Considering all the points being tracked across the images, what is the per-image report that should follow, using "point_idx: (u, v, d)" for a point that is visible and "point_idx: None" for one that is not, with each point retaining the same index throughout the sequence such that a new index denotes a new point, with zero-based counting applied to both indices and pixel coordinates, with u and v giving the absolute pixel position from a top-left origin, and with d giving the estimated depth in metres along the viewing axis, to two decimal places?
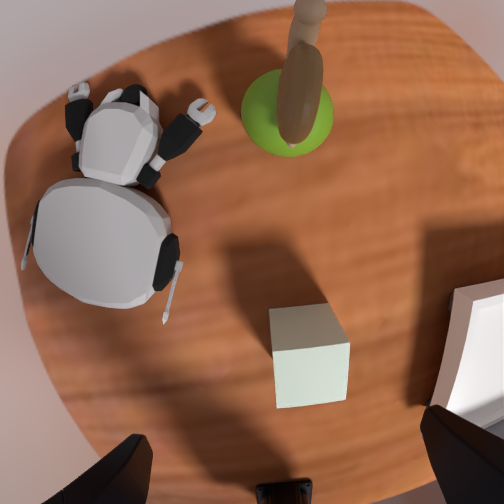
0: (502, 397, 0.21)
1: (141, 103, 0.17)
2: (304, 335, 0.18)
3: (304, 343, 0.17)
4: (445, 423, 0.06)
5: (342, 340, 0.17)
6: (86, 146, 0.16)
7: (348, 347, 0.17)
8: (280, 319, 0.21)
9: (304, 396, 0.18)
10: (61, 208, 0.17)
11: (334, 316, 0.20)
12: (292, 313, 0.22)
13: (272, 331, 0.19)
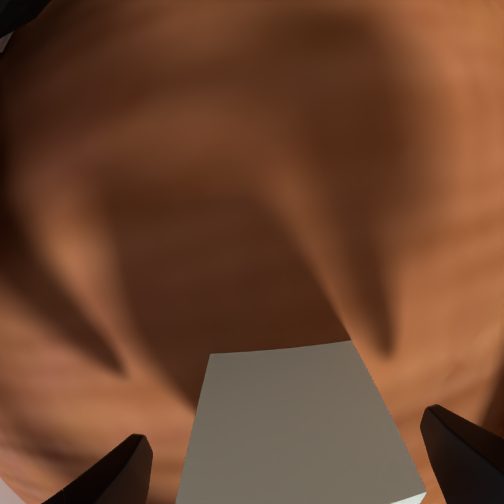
0: None
1: None
2: (283, 461, 0.05)
3: (280, 502, 0.04)
4: (445, 423, 0.06)
5: (403, 484, 0.04)
6: None
7: (418, 501, 0.04)
8: (229, 391, 0.07)
9: None
10: None
11: (371, 384, 0.07)
12: (262, 371, 0.08)
13: (195, 433, 0.06)
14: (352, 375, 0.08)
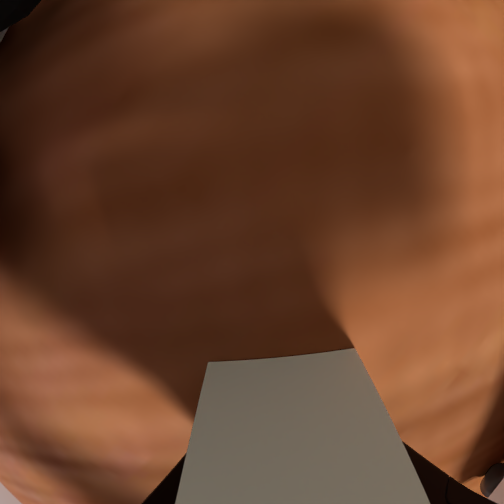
0: None
1: None
2: (284, 480, 0.05)
3: None
4: None
5: (409, 503, 0.03)
6: None
7: None
8: (227, 404, 0.07)
9: None
10: None
11: (375, 397, 0.07)
12: (262, 382, 0.08)
13: (192, 449, 0.06)
14: (356, 386, 0.07)
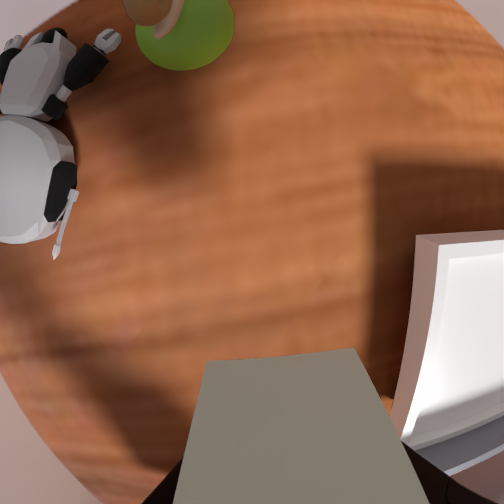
0: (492, 392, 0.17)
1: (54, 40, 0.13)
2: (282, 479, 0.05)
3: None
4: None
5: (408, 503, 0.03)
6: (4, 84, 0.13)
7: None
8: (226, 403, 0.07)
9: None
10: None
11: (374, 396, 0.07)
12: (261, 381, 0.08)
13: (190, 447, 0.06)
14: (355, 385, 0.07)
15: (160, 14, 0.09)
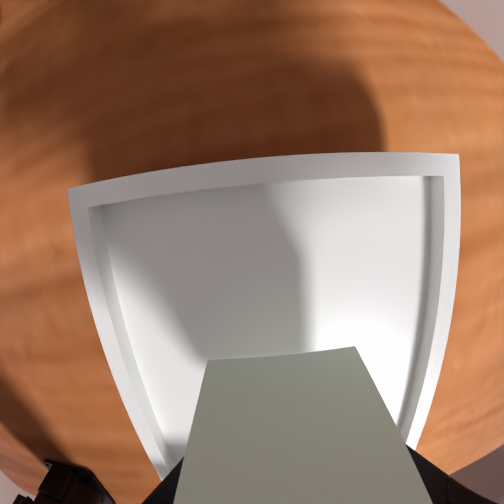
0: None
1: None
2: (284, 478, 0.05)
3: None
4: None
5: (410, 502, 0.03)
6: None
7: None
8: (226, 402, 0.07)
9: None
10: None
11: (376, 394, 0.07)
12: (262, 380, 0.08)
13: (191, 447, 0.06)
14: (356, 384, 0.07)
15: None
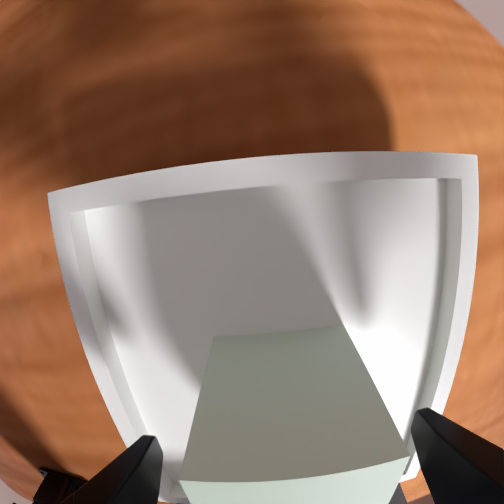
0: None
1: None
2: (280, 427, 0.06)
3: (276, 461, 0.05)
4: (434, 427, 0.06)
5: (388, 449, 0.05)
6: None
7: (403, 466, 0.05)
8: (230, 368, 0.08)
9: None
10: None
11: (360, 363, 0.08)
12: (261, 352, 0.09)
13: (200, 404, 0.07)
14: (343, 355, 0.08)
15: None
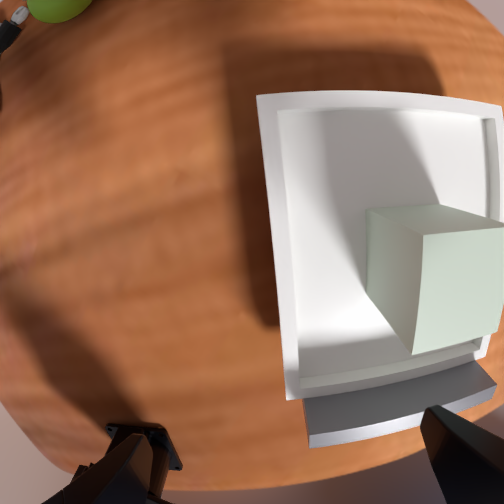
0: None
1: None
2: (447, 222, 0.10)
3: (459, 227, 0.09)
4: (445, 423, 0.06)
5: (502, 225, 0.09)
6: None
7: None
8: (395, 213, 0.12)
9: (453, 327, 0.10)
10: None
11: (463, 211, 0.12)
12: (404, 210, 0.13)
13: (396, 221, 0.11)
14: (451, 209, 0.12)
15: None
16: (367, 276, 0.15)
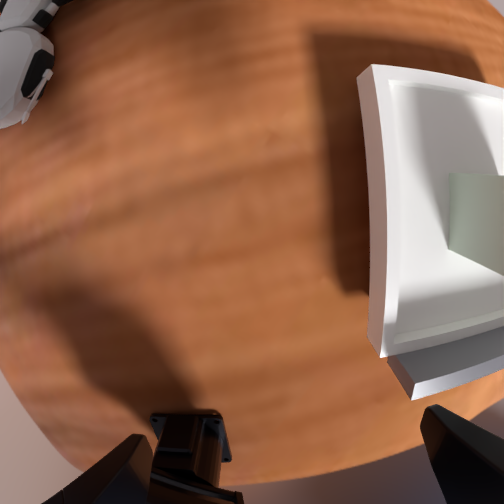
0: (493, 285, 0.16)
1: None
2: None
3: None
4: (445, 423, 0.06)
5: None
6: (5, 8, 0.12)
7: None
8: None
9: None
10: None
11: None
12: None
13: (488, 175, 0.11)
14: None
15: None
16: (450, 233, 0.15)
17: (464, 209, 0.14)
